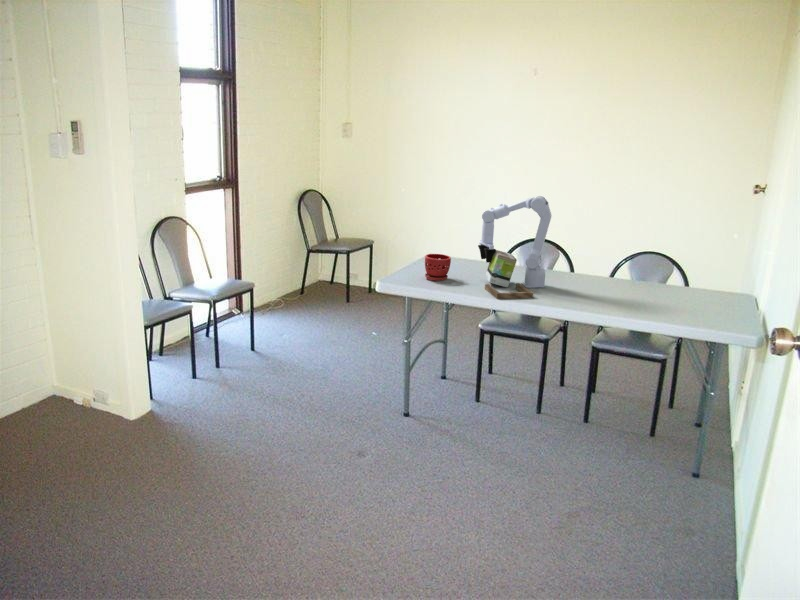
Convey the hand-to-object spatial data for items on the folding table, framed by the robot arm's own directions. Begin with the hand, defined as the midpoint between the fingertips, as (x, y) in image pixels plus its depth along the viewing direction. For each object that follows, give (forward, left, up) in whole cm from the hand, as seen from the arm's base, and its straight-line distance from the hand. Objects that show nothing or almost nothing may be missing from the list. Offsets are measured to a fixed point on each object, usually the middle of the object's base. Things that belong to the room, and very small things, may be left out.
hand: (485, 260), depth 340 cm
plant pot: (+24, -5, -11) cm, 27 cm away
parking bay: (-3, +25, -10) cm, 27 cm away
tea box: (-3, +8, -9) cm, 13 cm away
